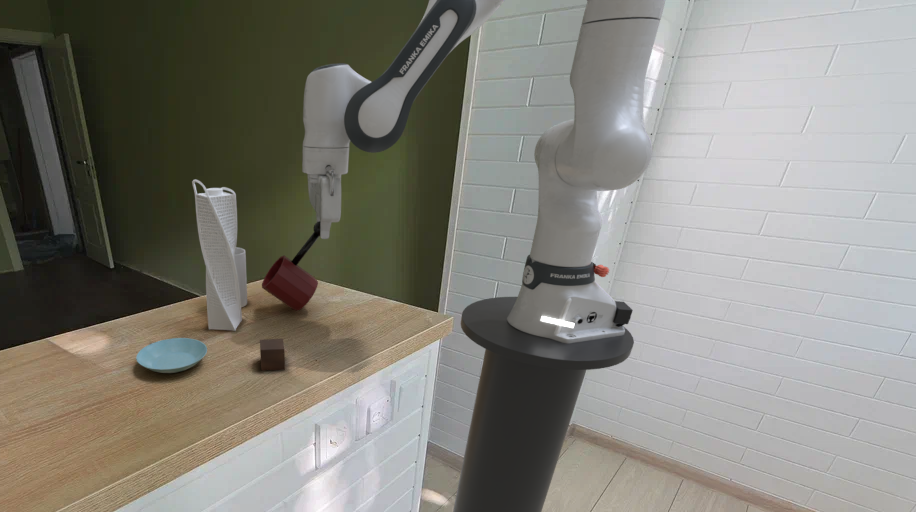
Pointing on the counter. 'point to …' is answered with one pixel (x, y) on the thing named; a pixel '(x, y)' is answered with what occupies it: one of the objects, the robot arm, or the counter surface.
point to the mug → (241, 274)
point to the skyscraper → (219, 255)
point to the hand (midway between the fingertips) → (322, 235)
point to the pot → (292, 277)
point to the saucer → (171, 355)
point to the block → (272, 354)
